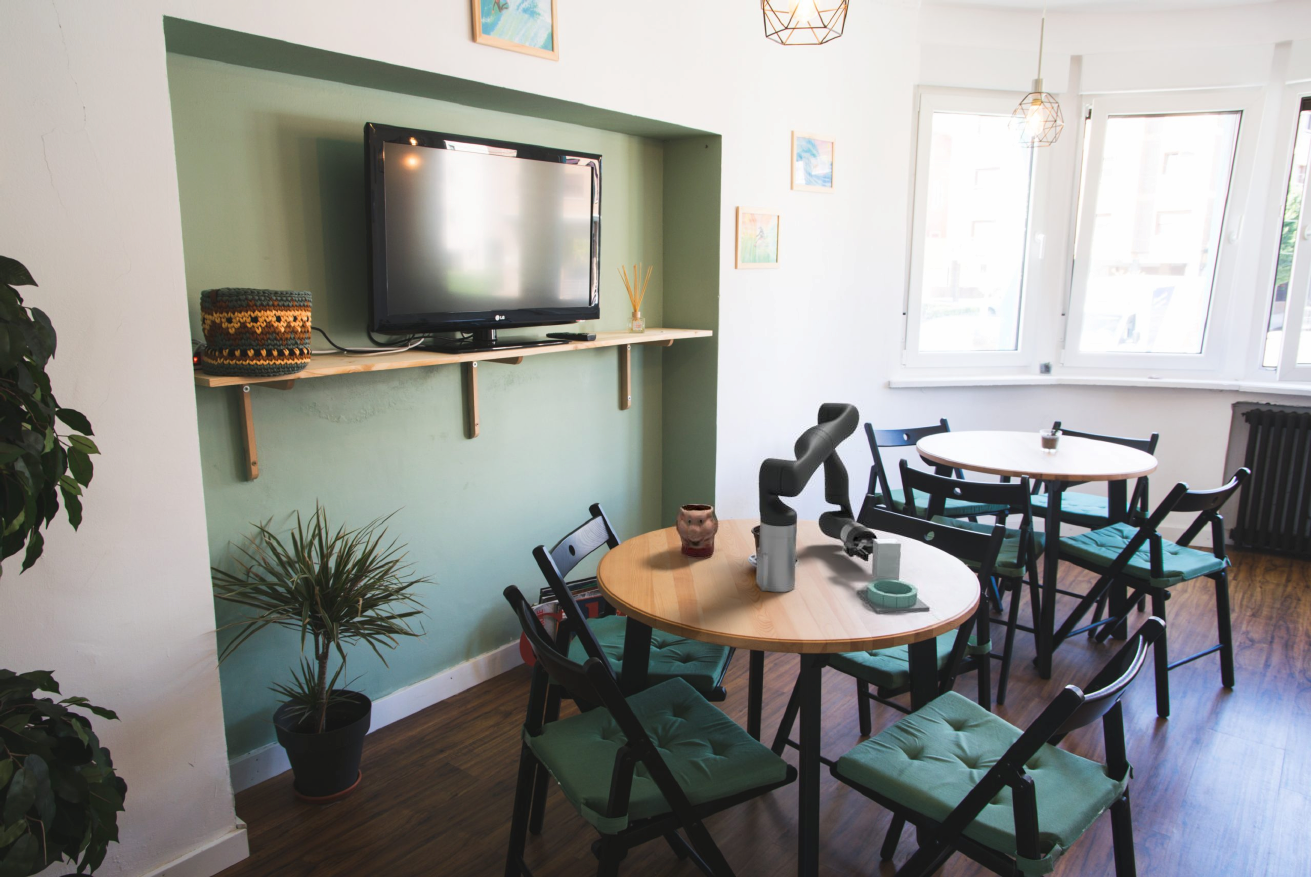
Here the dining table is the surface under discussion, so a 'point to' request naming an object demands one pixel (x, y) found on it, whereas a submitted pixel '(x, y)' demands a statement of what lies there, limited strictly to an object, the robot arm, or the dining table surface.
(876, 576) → the skincare box
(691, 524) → the decorative planter
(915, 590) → the collar holder
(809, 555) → the dining table surface
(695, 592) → the dining table surface
